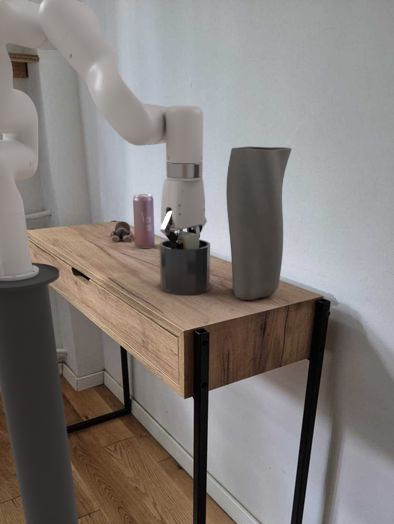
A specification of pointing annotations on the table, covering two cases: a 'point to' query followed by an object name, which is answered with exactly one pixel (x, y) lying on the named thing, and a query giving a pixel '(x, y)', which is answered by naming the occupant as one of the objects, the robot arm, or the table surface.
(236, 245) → the vase
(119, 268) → the table surface
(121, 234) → the figurine
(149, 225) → the beverage can
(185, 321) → the table surface
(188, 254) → the cup
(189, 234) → the box
